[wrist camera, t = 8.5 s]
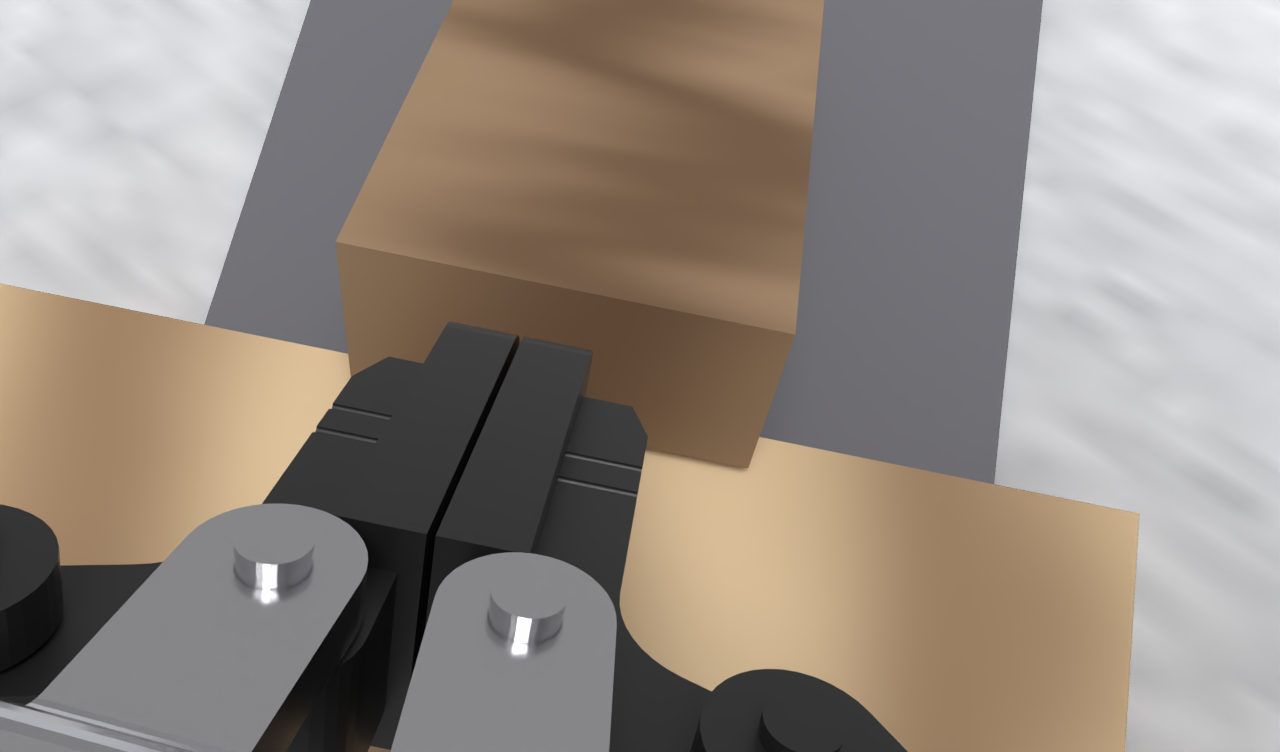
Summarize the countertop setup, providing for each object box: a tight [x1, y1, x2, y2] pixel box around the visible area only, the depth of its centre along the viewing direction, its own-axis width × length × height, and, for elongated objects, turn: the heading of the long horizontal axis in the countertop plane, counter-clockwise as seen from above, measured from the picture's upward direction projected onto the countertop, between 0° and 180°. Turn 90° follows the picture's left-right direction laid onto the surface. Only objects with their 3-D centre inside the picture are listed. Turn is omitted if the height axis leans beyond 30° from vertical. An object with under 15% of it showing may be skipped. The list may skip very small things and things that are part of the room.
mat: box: [204, 0, 1043, 484], centre depth 23 cm, size 15×12×1 cm
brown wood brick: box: [336, 0, 824, 468], centre depth 19 cm, size 6×3×10 cm
